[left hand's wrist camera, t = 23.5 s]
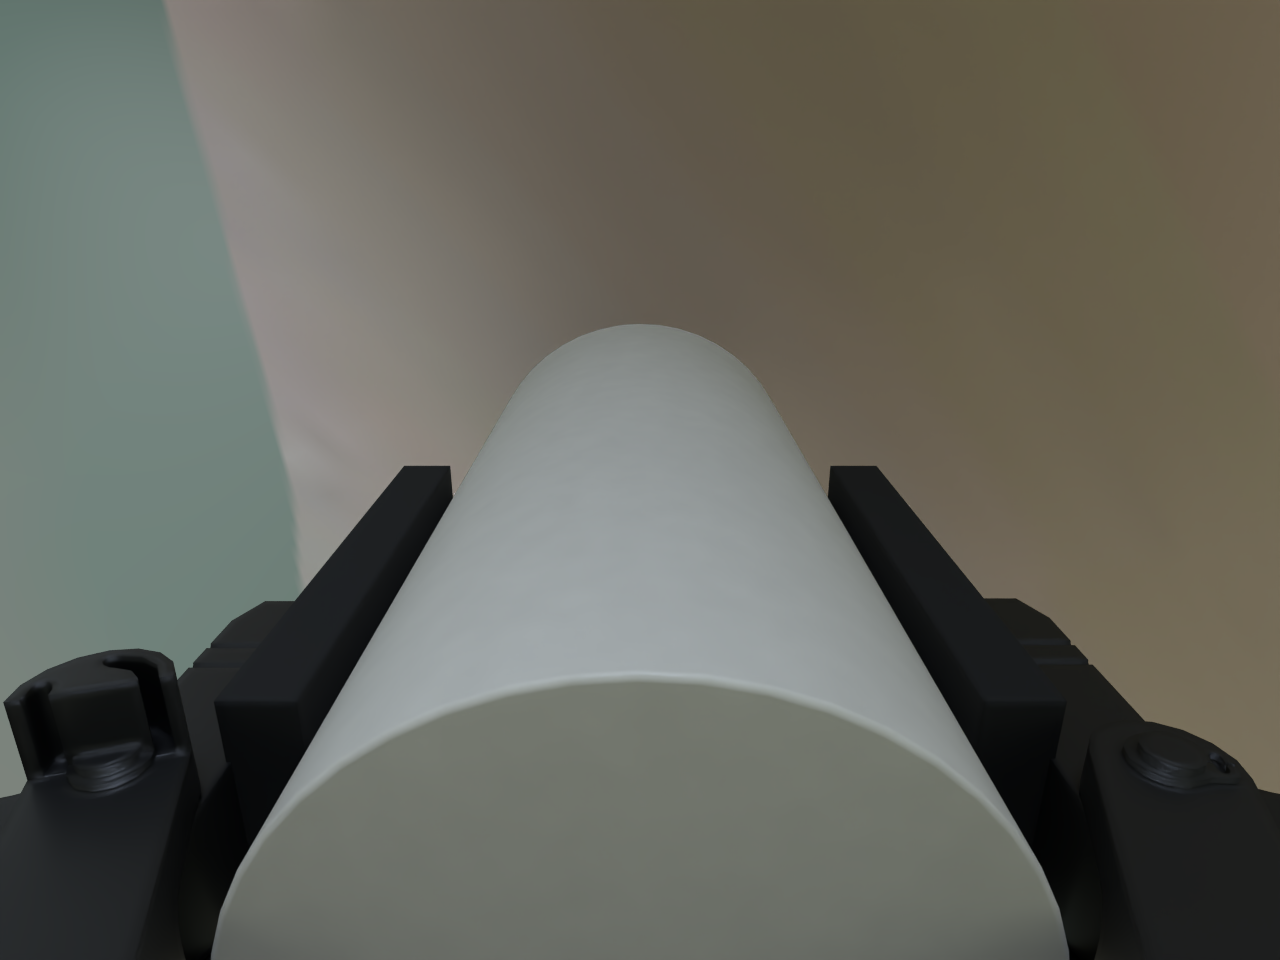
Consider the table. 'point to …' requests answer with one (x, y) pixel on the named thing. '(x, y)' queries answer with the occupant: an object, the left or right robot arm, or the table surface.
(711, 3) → the table surface
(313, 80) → the table surface
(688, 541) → the canister
